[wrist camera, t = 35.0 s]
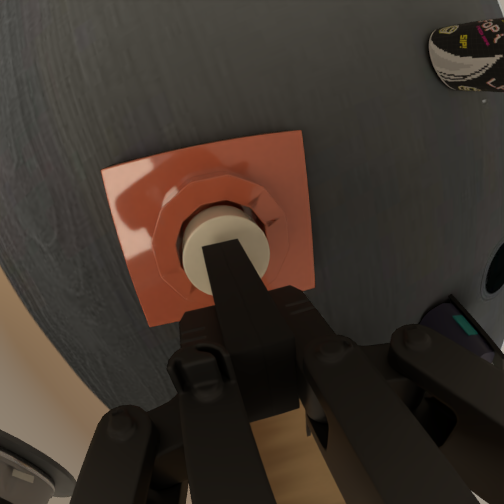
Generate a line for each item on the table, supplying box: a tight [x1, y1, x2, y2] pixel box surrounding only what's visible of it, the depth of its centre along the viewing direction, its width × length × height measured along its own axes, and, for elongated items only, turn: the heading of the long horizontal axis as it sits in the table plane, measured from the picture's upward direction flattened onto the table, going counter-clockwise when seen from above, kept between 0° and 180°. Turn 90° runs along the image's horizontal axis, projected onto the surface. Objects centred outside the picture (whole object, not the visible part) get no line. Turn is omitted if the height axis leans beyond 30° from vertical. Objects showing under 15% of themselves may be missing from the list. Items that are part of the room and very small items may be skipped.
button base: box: [101, 130, 315, 327], centre depth 17 cm, size 11×10×4 cm
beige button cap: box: [182, 205, 270, 296], centre depth 14 cm, size 4×4×2 cm
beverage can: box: [429, 18, 504, 92], centre depth 12 cm, size 6×6×12 cm
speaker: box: [419, 294, 504, 371], centre depth 23 cm, size 8×6×10 cm
